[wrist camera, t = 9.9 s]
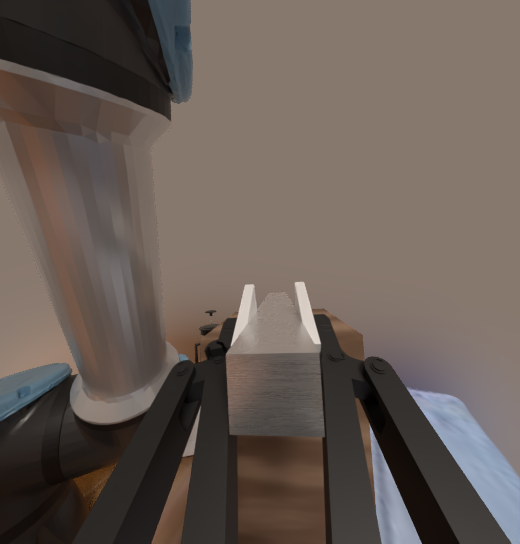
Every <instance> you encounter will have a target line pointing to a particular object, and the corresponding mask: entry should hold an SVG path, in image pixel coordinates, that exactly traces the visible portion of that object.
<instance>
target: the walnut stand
mask: <svg viewBox="0 0 520 544" xmlns="http://www.w3.org/2000/svg"><path fill="white" fill-rule="evenodd" d="M311 310H312V313H313V314H325V315H326V316H327V317H328V318H329V319H330V321H331V324H332V327H333V330H334V332H335V334H336V337H337V340H338V342H339V345H340V347H341V349H342V350H343V351H344V352H345V353H346V354H347V355H348V356H350V357H352V358H355V359H359V360H363V361H364V349H363V336H362V334H360V333H359V332H357V331H356V330H354V329H353V328H351V327H350V326H348V325H347V324H345V323H344V322H342V321H341V320H339V319H338V318H337V317H335V316H334V315H332V314H331V313H329V312H328V311H326V310H325V309H311ZM238 313H239V312H235V313H234V314H232V315H231V316H230V317H229V318H237V317H238ZM224 322H225V321H223V322H222V323H221V324H219V325H218V326H217V327H216V328H214V329H213V330H212V331H210V332H209V333H208V334H206V335H205V336H204V337H203V338H201V339H200V349H201V361H204V360H206V359H207V357H206V355H205V352H204V350H205V347H206V346H207V345H208V344H209V343H210V342H212V341H215V340H218V338H219V335H220V332H221V329H222V326H223V323H224ZM355 401H356V406H357V412H358V417H359V423H360V428H361V434H362V439H363V445H364V450H365V456H366V461H367V467H368V472H369V478H370V483H371V489H372V494H373V500H374V505H375V492H374V479H373V466H372V453H371V440H370V427H369V421H368V419H367V417H366V414H365V412H364V410H363V407H362V405H361V403H360V401H359V399H358V398H355ZM237 468H238V544H326V530H325V502H324V474H323V446H322V437H296V436H254V435H237ZM375 510H376V505H375Z"/></svg>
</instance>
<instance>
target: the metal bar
mask: <svg viewBox="0 0 520 544" xmlns="http://www.w3.org/2000/svg"><path fill="white" fill-rule="evenodd" d="M226 369H227V390H228V411H229V432H230V435H254V436H296V437H325V432H324V417H323V402H322V387H321V372H320V357H319V351H318V349H317V348H316V346H315V344H314V342H313V340H312V338H311V337H310V335H309V333H308V331H307V329H306V327H305V325H304V324H303V322H302V320H301V319H300V317H299V315H298V313H297V311H296V309H295V307H294V305H293V304H292V301H291V300H290V298H289V296H288V294H287V292H277V293H269V294H268V295H267V297H266V298H265V299H264V301H263V302H262V304H261V305H260V307H259V308H258V309H257V311H256V312H255V314H254V315H253V317H252V318H251V320H250V321H249V322H248V324H247V325H246V326H245V328H244V329H243V331H242V332H241V333H240V335H239V336H238V338H237V339H236V340H235V342H234V343H233V345H232V346H231V348H230V349H229V350H228V352H227V353H226Z"/></svg>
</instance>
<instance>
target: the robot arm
mask: <svg viewBox="0 0 520 544" xmlns="http://www.w3.org/2000/svg"><path fill="white" fill-rule="evenodd" d="M190 23H191V1H190V0H0V178H1V180H2V183H3V185H4V188H5V190H6V193H7V195H8V197H9V200H10V202H11V205H12V208H13V210H14V213H15V215H16V217H17V220H18V222H19V225H20V227H21V230H22V232H23V235H24V237H25V240H26V242H27V244H28V247H29V249H30V252H31V254H32V257H33V259H34V262H35V264H36V267H37V269H38V272H39V274H40V277H41V279H42V282H43V284H44V286H45V289H46V291H47V294H48V296H49V299H50V301H51V304H52V306H53V309H54V311H55V313H56V316H57V319H58V321H59V323H60V326H61V328H62V331H63V333H64V336H65V338H66V341H67V343H68V346H69V348H70V350H71V353H72V355H73V358H74V360H75V363H76V365H77V368H78V370H79V374H77V375H71V372H72V369H71V368H70V366H69V364H66V363H61V364H60V363H56V364H50V365H45V366H41V367H37V368H33V369H29V370H26V371H23V372H19V373H16V374H13V375H10V376H7V377H4V378H1V379H0V544H151V542H152V540H153V537H154V534H155V531H156V528H157V526H158V523H159V520H160V517H161V515H162V512H163V509H164V506H165V504H166V501H167V498H168V495H169V492H170V490H171V487H172V484H173V481H174V479H175V476H176V473H177V470H178V467H179V465H180V462H181V459H182V456H183V454H184V451H185V448H186V445H187V443H188V440H189V437H190V434H191V431H192V429H193V426H194V423H195V420H196V418H197V415H198V412H199V409H200V415H199V422H198V429H197V436H196V443H195V450H194V457H193V464H192V470H191V477H190V484H189V491H188V498H187V505H186V512H185V519H184V526H183V533H182V540H181V544H238V468H237V435H230V432H229V411H228V390H227V369H226V353H227V352H228V350H229V349H230V348H231V346H232V345H233V343H234V342H235V340H236V339H237V338H238V336H239V335H240V333H241V332H242V331H243V329H244V328H245V326H246V325H247V324H248V322H249V321H250V320H251V318H252V317H253V315H254V314H255V312H256V311H257V306H256V297H255V290H254V285H245V288H244V292H243V296H242V301H241V305H240V309H239V313H238V317H237V318H227V319H226V320H225V322H224V323H223V326H222V329H221V332H220V335H219V338H218V340H215V341H212V342H210V343H209V344H208V345H207V346H206V347H205V350H204V352H205V355H206V357H207V359H206V360H204V361H201V362H198V363H195V364H193V363H192V362H191V361H189V359H188V357H187V356H186V355H183V354H178V353H177V351H176V349H175V348H174V347H173V346H172V345H171V344H170V343H168V342H167V341H166V333H165V320H164V308H163V296H162V283H161V270H160V258H159V244H158V232H157V219H156V206H155V193H154V181H153V169H152V156H151V152H152V148H153V145H154V144H155V143H156V142H157V141H158V140H159V139H160V138H161V137H162V136H163V135H164V134H165V133H167V132H168V131H169V130H170V129H171V105H170V102H171V100H172V102H174V103H178V104H179V103H181V102H186V101H188V100H189V99H190V96H191V92H192V69H193V68H192V67H193V61H192V43H191V33H190ZM295 309H296V311H297V313H298V315H299V317H300V319H301V320H302V322H303V324H304V325H305V327H306V329H307V331H308V333H309V335H310V337H311V338H312V340H313V342H314V344H315V346H316V348H317V349H318V351H319V357H320V372H321V387H322V402H323V417H324V432H325V437H322V446H323V474H324V502H325V530H326V544H382V543H381V538H380V532H379V527H378V521H377V516H376V510H375V505H374V500H373V494H372V489H371V483H370V478H369V472H368V467H367V461H366V456H365V450H364V445H363V439H362V434H361V428H360V423H359V417H358V412H357V406H356V401H355V398H358V399H359V401H360V403H361V405H362V407H363V410H364V412H365V414H366V417H367V419H368V421H369V423H370V426H371V428H372V430H373V433H374V435H375V437H376V440H377V442H378V444H379V446H380V449H381V451H382V453H383V456H384V458H385V460H386V462H387V465H388V467H389V469H390V472H391V474H392V476H393V478H394V481H395V483H396V485H397V488H398V490H399V492H400V494H401V497H402V499H403V501H404V504H405V506H406V508H407V510H408V513H409V515H410V517H411V520H412V522H413V524H414V526H415V529H416V531H417V533H418V536H419V538H420V540H421V542H422V544H511V542H510V541H509V539H508V538H507V536H506V535H505V533H504V532H503V530H502V529H501V527H500V526H499V524H498V523H497V521H496V520H495V518H494V517H493V516H492V514H491V513H490V511H489V510H488V508H487V507H486V505H485V504H484V502H483V501H482V499H481V498H480V496H479V495H478V493H477V492H476V490H475V489H474V487H473V486H472V485H471V483H470V482H469V480H468V479H467V477H466V476H465V474H464V473H463V471H462V470H461V468H460V467H459V465H458V464H457V462H456V461H455V459H454V458H453V457H452V455H451V454H450V452H449V451H448V449H447V448H446V446H445V445H444V443H443V442H442V440H441V439H440V437H439V436H438V434H437V433H436V431H435V430H434V428H433V427H432V426H431V424H430V423H429V421H428V420H427V418H426V417H425V415H424V414H423V412H422V411H421V409H420V408H419V406H418V405H417V403H416V402H415V400H414V399H413V397H412V396H411V395H410V393H409V392H408V390H407V389H406V387H405V386H404V384H403V383H402V381H401V380H400V378H399V377H398V375H397V374H396V372H395V371H394V369H393V368H392V366H391V365H390V364H389V363H388V362H386V361H385V360H383V359H381V358H379V357H368V358H367V359H366V360H365V361H363V360H359V359H355V358H352V357H350V356H348V355H347V354H346V353H345V352H344V351H343V350H342V349H341V347H340V345H339V342H338V340H337V337H336V334H335V332H334V330H333V327H332V324H331V321H330V319H329V318H328V317H327V316H326V315H325V314H313V313H312V310H311V306H310V303H309V299H308V295H307V292H306V288H305V285H304V282H295ZM200 406H201V408H200ZM116 463H118V464H117V465H116V467H115V469H114V471H113V472H112V474H111V476H110V478H109V479H108V481H107V483H106V485H105V486H104V488H103V490H102V492H101V493H100V495H99V497H98V498H97V500H96V502H95V504H94V505H93V507H92V509H91V511H89V507H88V504H87V501H86V500H85V498H84V496H83V495H82V493H81V491H80V490H79V488H78V486H77V485H76V483H75V481H74V480H73V479H74V478H76V477H79V476H82V475H85V474H88V473H90V472H93V471H96V470H99V469H102V468H104V467H107V466H110V465H113V464H116Z"/></svg>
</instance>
